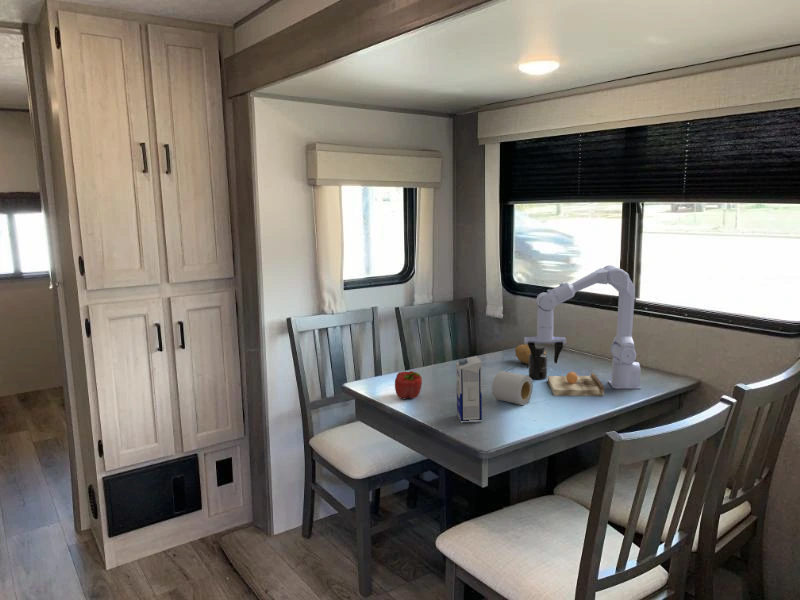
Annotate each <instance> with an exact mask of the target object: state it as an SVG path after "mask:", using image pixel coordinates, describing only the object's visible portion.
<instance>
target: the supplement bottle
mask: <svg viewBox="0 0 800 600" xmlns="http://www.w3.org/2000/svg"><path fill="white" fill-rule="evenodd" d="M544 352H546V350H545V346H543V345H535V363H533V359H532V354H530V355H529V364H528V376H529V377H530V378H531V380H532V379H533V380H545V379H546V378H548V375H547V374H548V355H547V353H546V354H544Z"/></svg>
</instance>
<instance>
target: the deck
mask: <svg viewBox="0 0 800 600" xmlns="http://www.w3.org/2000/svg"><path fill="white" fill-rule="evenodd" d="M566 376H567V375H555V376H554V375H550V376H549V375H547V383H548V386H549V387H550V389H551V392H552V394H553V396H562V397H563V396H564V397H567V396H568V397H569V396H578V397H579V396H580V397H581V396H584V397H586V396H587V397H588V396H590V397H591V396H592V397H593V396H594V397H595V396H603V397H604V396H605V386H604V385H603V383H602V382H601V381H600V379H599V378H598V376H597V375H596V374H595V373H594V372H591V373H590V375H577V376H578V379H577V381H576V382H575V383H569V382H568V381H567V379H566Z"/></svg>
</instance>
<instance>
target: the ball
mask: <svg viewBox="0 0 800 600" xmlns="http://www.w3.org/2000/svg"><path fill="white" fill-rule="evenodd" d="M565 376H566V379H567V381H568V382H569V383H575V382H576V381H577V379H578V376H579V375H578V374H577V373H576V372H574V371H570V372H568V373H567V374H566V375H565Z"/></svg>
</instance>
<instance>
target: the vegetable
mask: <svg viewBox="0 0 800 600" xmlns="http://www.w3.org/2000/svg"><path fill="white" fill-rule="evenodd" d="M422 385H423V379H422V376H421V374H419V373H418V372H415V371H401V372H398V373H397V375H396V377H395V379H394V391H395V394H396V395H397V397H399V398H400V399H402V398H406V399H415V398H417V397H418V395H420V392H421V388H422ZM408 397H409V398H408Z"/></svg>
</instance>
